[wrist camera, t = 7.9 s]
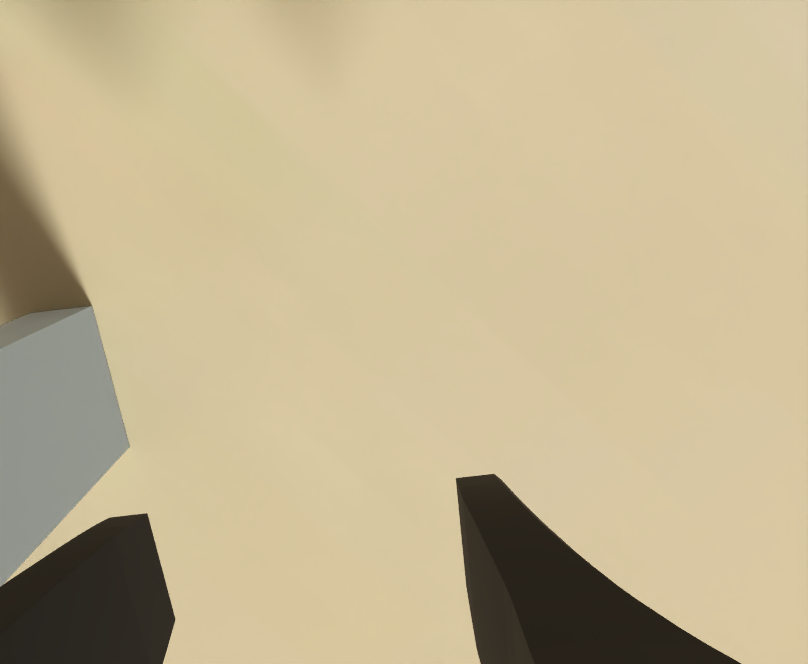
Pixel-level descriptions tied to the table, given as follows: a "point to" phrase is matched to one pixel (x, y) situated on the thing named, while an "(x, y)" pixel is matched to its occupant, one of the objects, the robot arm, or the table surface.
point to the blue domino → (51, 424)
